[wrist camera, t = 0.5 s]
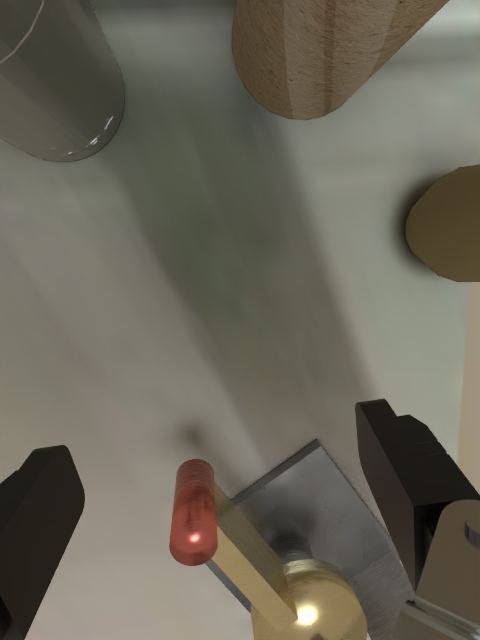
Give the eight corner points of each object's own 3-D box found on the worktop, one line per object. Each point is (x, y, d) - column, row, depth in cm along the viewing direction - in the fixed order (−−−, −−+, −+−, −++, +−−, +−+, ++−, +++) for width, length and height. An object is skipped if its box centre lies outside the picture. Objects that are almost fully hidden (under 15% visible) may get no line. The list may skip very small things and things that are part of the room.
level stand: (185, 531, 35) (181, 618, 27) (316, 439, 34) (351, 499, 26) (282, 638, 38) (304, 744, 30) (403, 555, 37) (458, 640, 29)
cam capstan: (137, 495, 28) (119, 571, 21) (230, 429, 27) (239, 485, 21) (288, 660, 32) (310, 764, 25) (370, 603, 31) (413, 694, 25)
